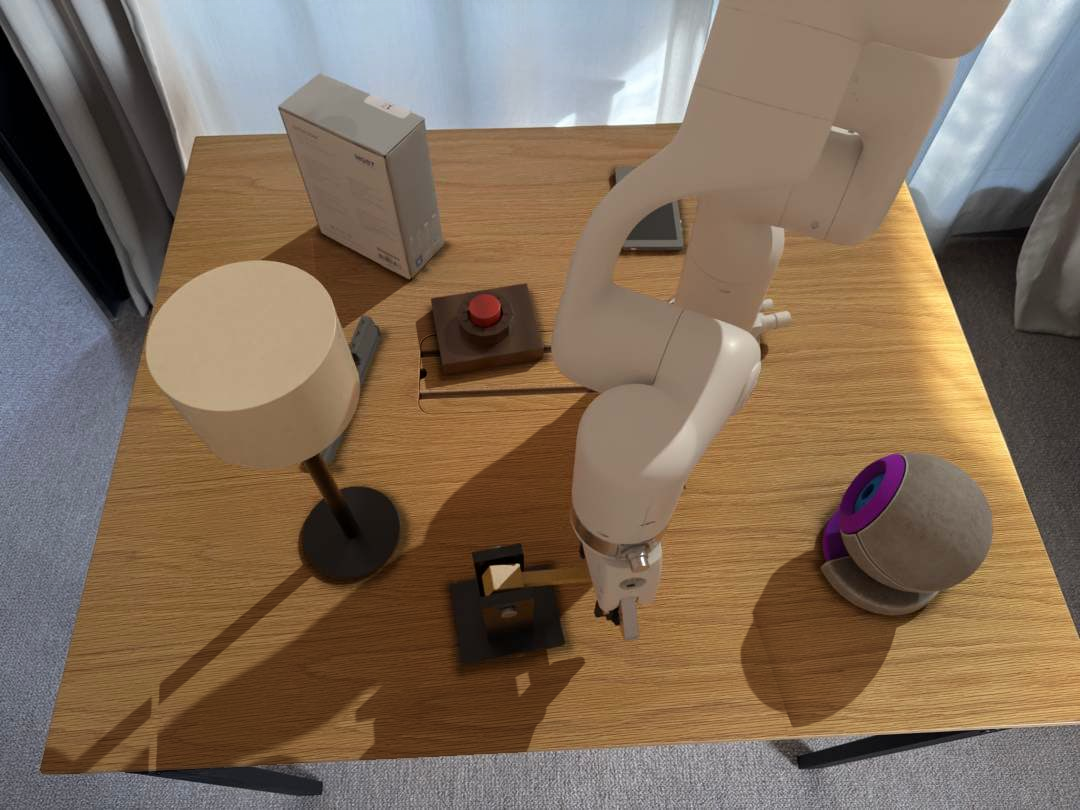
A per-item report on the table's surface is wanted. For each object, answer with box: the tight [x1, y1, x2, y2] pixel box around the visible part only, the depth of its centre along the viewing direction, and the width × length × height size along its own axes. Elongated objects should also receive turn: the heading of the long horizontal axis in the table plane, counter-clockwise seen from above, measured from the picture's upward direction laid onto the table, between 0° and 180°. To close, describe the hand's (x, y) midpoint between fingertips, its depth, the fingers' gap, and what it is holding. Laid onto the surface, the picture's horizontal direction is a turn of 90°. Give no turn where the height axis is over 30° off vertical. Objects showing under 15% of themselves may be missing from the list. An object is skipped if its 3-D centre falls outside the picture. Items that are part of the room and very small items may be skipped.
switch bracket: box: [449, 542, 566, 666], centre depth 70 cm, size 10×8×13 cm
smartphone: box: [614, 166, 685, 251], centre depth 104 cm, size 15×8×1 cm, turn 1°
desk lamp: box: [145, 260, 403, 581], centre depth 65 cm, size 12×12×36 cm
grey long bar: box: [320, 314, 382, 468], centre depth 87 cm, size 19×3×4 cm, turn 168°
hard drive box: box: [277, 72, 445, 280], centre depth 93 cm, size 16×8×20 cm, turn 58°
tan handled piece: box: [482, 564, 592, 596], centre depth 68 cm, size 12×5×2 cm, turn 102°
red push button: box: [469, 294, 501, 327], centre depth 90 cm, size 4×4×2 cm
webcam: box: [820, 452, 994, 616], centre depth 73 cm, size 13×13×15 cm
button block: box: [430, 282, 545, 376], centre depth 92 cm, size 12×10×4 cm
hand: (603, 580), depth 73 cm, fingers closed on tan handled piece, 5 cm apart
